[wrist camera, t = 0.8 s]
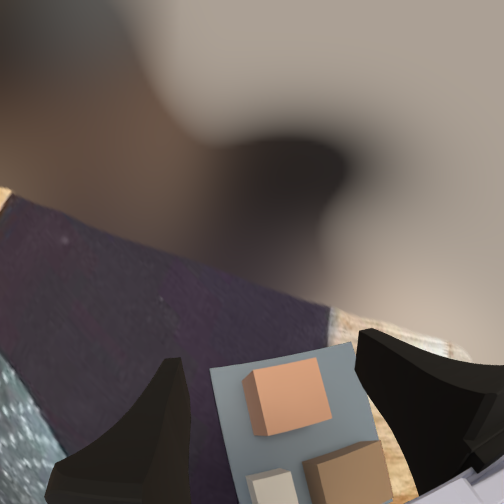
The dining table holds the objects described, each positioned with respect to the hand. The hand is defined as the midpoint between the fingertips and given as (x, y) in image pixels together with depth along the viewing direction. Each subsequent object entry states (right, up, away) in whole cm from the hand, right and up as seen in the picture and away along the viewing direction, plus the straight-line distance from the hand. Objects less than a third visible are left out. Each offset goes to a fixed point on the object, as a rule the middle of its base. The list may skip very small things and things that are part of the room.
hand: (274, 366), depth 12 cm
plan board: (+4, -13, +12) cm, 18 cm away
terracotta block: (+1, -8, +13) cm, 16 cm away
